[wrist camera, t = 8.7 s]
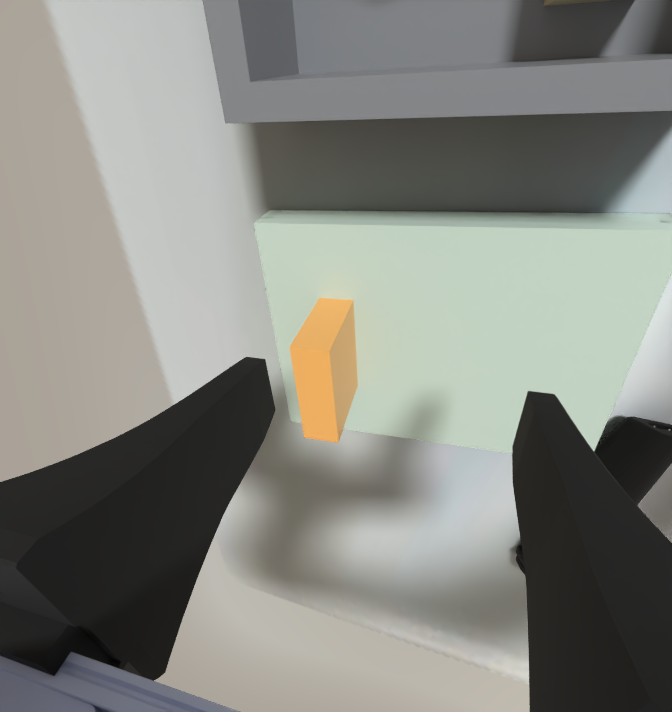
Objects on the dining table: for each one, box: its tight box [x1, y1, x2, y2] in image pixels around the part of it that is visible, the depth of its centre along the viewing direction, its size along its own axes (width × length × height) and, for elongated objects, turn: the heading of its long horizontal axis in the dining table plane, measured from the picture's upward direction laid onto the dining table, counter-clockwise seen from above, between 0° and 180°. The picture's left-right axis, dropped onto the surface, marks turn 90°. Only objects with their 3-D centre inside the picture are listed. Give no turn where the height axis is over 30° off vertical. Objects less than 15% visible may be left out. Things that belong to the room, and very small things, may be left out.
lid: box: [254, 210, 672, 453], centre depth 18 cm, size 16×12×6 cm
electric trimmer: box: [516, 417, 672, 574], centre depth 23 cm, size 4×16×3 cm, turn 176°
